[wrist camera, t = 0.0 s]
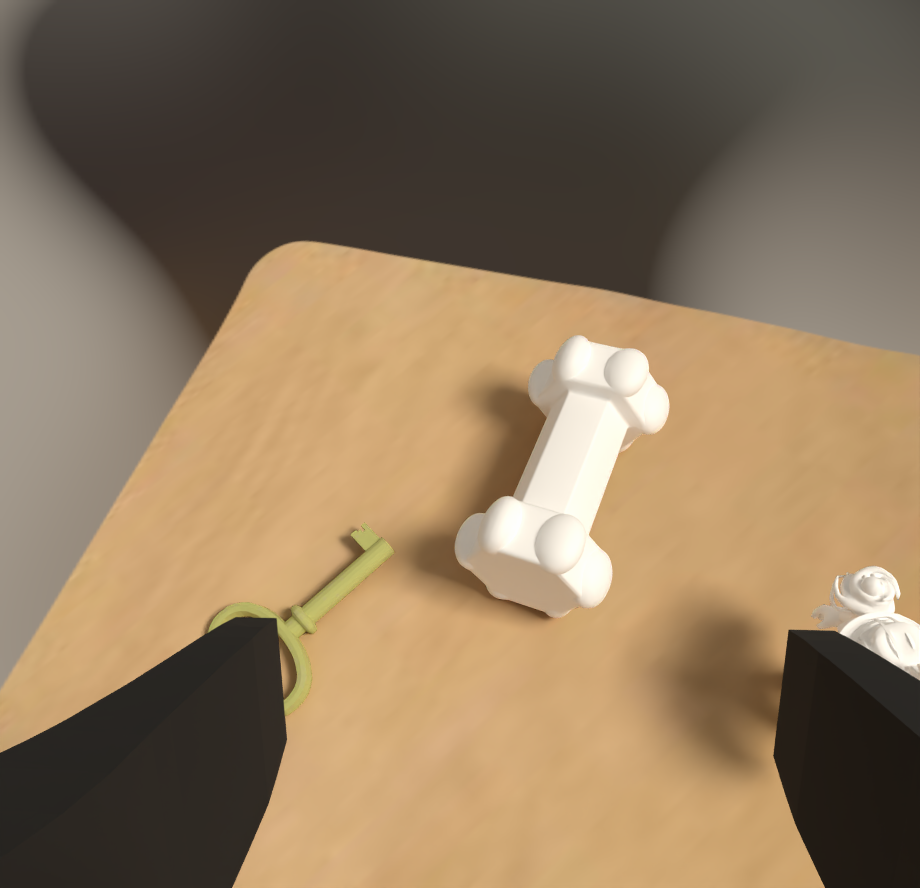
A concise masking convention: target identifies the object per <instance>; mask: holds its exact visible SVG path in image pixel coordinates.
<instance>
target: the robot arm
mask: <svg viewBox="0 0 920 888" xmlns="http://www.w3.org/2000/svg"><path fill="white" fill-rule="evenodd" d="M286 741H287V734H286V723H285V711H284V699H283V687H282V675H281V663H280V651H279V639H278V627H277V618H254V617H235V618H233V619H231V620H229V621H227V622H225V623H223V624H221V625H220V626H218V627H216V628H215V629H213V630H211V631H210V632H208V633H207V634H205V635H203V636H202V637H200V638H199V639H197V640H196V641H194V642H193V643H191V644H189V645H188V646H186V647H185V648H183V649H182V650H180V651H179V652H177V653H176V654H174V655H172V656H171V657H169V658H168V659H166V660H165V661H163V662H161V663H160V664H158V665H157V666H155V667H154V668H152V669H150V670H149V671H147V672H146V673H144V674H143V675H141V676H140V677H138V678H136V679H135V680H133V681H132V682H130V683H128V684H127V685H125V686H123V687H121V688H120V689H118V690H116V691H115V692H113V693H111V694H109V695H108V696H106V697H104V698H103V699H101V700H99V701H97V702H96V703H94V704H92V705H91V706H89V707H87V708H85V709H84V710H82V711H80V712H79V713H77V714H75V715H73V716H72V717H70V718H68V719H67V720H65V721H63V722H61V723H59V724H57V725H55V726H53V727H52V728H50V729H48V730H46V731H44V732H42V733H40V734H38V735H36V736H34V737H32V738H30V739H28V740H26V741H24V742H22V743H20V744H18V745H16V746H14V747H12V748H9V749H7V750H5V751H3V752H1V753H0V888H232V887H233V885H234V882H235V880H236V878H237V875H238V873H239V871H240V869H241V866H242V864H243V862H244V860H245V857H246V855H247V853H248V851H249V848H250V846H251V844H252V841H253V839H254V837H255V834H256V832H257V830H258V827H259V825H260V823H261V820H262V818H263V816H264V813H265V811H266V809H267V806H268V804H269V800H270V797H271V794H272V791H273V787H274V784H275V781H276V777H277V774H278V770H279V767H280V763H281V759H282V756H283V752H284V749H285V745H286ZM773 756H774V759H775V763H776V766H777V769H778V772H779V776H780V779H781V782H782V785H783V789H784V792H785V795H786V798H787V801H788V804H789V807H790V810H791V813H792V816H793V818H794V821H795V824H796V826H797V829H798V831H799V833H800V835H801V837H802V840H803V842H804V844H805V846H806V848H807V850H808V852H809V855H810V857H811V859H812V861H813V863H814V865H815V867H816V870H817V872H818V874H819V876H820V878H821V880H822V882H823V884H824V886H825V888H920V680H918V679H917V678H915V677H913V676H912V675H910V674H909V673H907V672H905V671H904V670H902V669H900V668H899V667H897V666H896V665H894V664H892V663H891V662H889V661H887V660H886V659H884V658H882V657H881V656H879V655H877V654H876V653H874V652H872V651H871V650H869V649H867V648H866V647H864V646H862V645H861V644H859V643H857V642H855V641H853V640H852V639H850V638H848V637H846V636H844V635H842V634H840V633H838V632H836V631H820V630H789V632H788V640H787V648H786V656H785V664H784V673H783V681H782V689H781V697H780V706H779V714H778V722H777V730H776V738H775V747H774V755H773Z"/></svg>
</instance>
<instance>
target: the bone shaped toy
mask: <svg viewBox="0 0 920 888" xmlns="http://www.w3.org/2000/svg"><path fill="white" fill-rule="evenodd" d="M648 371H649V365H648V361H647V358H646V356H645V355H644V354H643V353H642V352H640V351H639V350H636V349H632V348H626V349H621V348H616V347H612V346H607V345H602V344H598V343H593V342H589V341H588V340H587V339H586V338H585V337H584V336H580V335H577V336H573V337H571V338H569V339H568V340H566V341H565V342H564V343H563V344H562V346H561V347H560V348H559V350H558V352H557V354H556V356H555V358H554V360H551V359H548V360H544V361H542V362H540V363H539V364H538V365H537V366H536V367H535V368H534V370H533V371H532V373H531V375H530V378H529V382H528V393H529V397H530V399H531V401H532V402H533V403H534V404H535V405H536V406H537V407H538V408H539V409H540V410H541V411H542V413H543V414H544V415H545V416H546V417H547V419H546V421H545V424H544V426H543V428H542V430H541V433H540V435H539V437H538V440H537V442H536V444H535V447H534V449H533V451H532V454H531V456H530V458H529V460H528V463H527V465H526V467H525V470H524V472H523V474H522V477H521V479H520V481H519V484H518V486H517V488H516V490H515V493H514V495H513V497H511V496H504V497H501V498H499V499H497V500H496V501H495V502H494V503H493V504H492V505H491V506H490V507H489V508H488V510H487V511H486V513H476V514H473V515H471V516H470V517H468V518H467V519H466V520H465V521H464V523H463V524H462V526H461V527H460V529H459V531H458V534H457V537H456V540H455V555H456V558H457V560H458V562H459V563H460V565H461V566H463V567H464V568H465V569H468V570H470V571H471V572H472V573H473V574H474V575H475V576H476V577H478V578H479V579H480V580H481V581H482V582H483V583H484V584H485V585H486V587H487V590H488V591H489V593H490V594H491V595H492V596H494V597H496V598H498V599H503V600H510V601H513V602H516V603H519V604H522V605H525V606H528V607H531V608H534V609H537V610H540V611H543V612H545V613H546V614H547V615H548V616H550V617H552V618H560V617H563V616H565V615H566V614H567V613H569V612H570V611H571V610H573V609H575V608H578V607H582V608H588V609H589V608H593V607H595V606H597V605H598V604H600V603H601V602H602V601H603V599H604V598H605V596H606V594H607V592H608V590H609V588H610V584H611V580H612V565H611V561H610V559H609V557H608V555H607V554H606V553H605V552H604V551H603V550H601V549H600V548H599V546H598V545H597V544H596V543H595V542H594V541H593V540H592V539H591V537H590V536H589V532H590V529H591V527H592V524H593V521H594V518H595V516H596V513H597V510H598V508H599V505H600V502H601V499H602V497H603V494H604V491H605V488H606V486H607V483H608V480H609V478H610V475H611V472H612V469H613V467H614V464H615V461H616V458H617V456H618V453H620V452H622V451H624V450H626V449H627V448H628V447H629V446H630V445H631V444H632V442H633V441H634V440H635V439H636V438H638V437H639V436H641V435H642V434H646V435H651V434H654V433H656V432H658V431H659V430H660V429H661V428H662V427H663V425H664V424H665V422H666V419H667V416H668V413H669V399H668V396H667V393H666V391H665V390H664V389H663V388H662V387H661V386H660V385H658V384H657V383H656V382H655V380H654V379H653V377H652V376H651V374H650V373H649V372H648Z"/></svg>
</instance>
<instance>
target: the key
mask: <svg viewBox="0 0 920 888" xmlns="http://www.w3.org/2000/svg"><path fill="white" fill-rule="evenodd" d="M361 526H362V528H363V529H364V530H365V531H364V532H362V531H361V530H359V531H358V532H357V531H356V530H355V531H354V532H353V533H352V534H351V536H352V538H353V539H354V540H355V541H356V542H357V543H358V544H359V545H360V546H361V547H362V548H363V549H364V550H365V552H364V553H363V554H362V555H361V556H360V557H359V558H357V559H356V560H355V561H354V562H353V563H352V564H351V565H349V566H348V567H347V568H346V569H345V570H344V571H343V572H341V573H340V574H339V575H338V576H337V577H336V578H335V579H333V580H332V581H331V582H330V583H329V584H328V585H327V586H325V587H324V588H323V589H322V590H321V591H320V592H319V593H317V594H316V595H315V596H314V597H313V598H312V599H311V600H309V601H308V602H307V603H306V604H305V605H304V606H303V607H300V606H298V605H294V606H292V608H291V613H292V616H291V617H290V618H289V619H288V620H287V621H284V620H283V619H282V618H281V617H279V616H278V615H277V614H276V613H275V612H273V611H271V610H270V609H268V608H266V607H263V606H259V605H256V604H253V603H249V602H241V603H236V604H233V605H230V606H228V607H226V608H225V609H224V610H222V611H221V612H220V613H219V614H218V615H217V616H216V617H215V618H214V619H213V621H212V623H211V625H210V627H209V631H208V632H210V631H211V630H213V629H215V628H216V627H218V626H220V625H221V624H223V623H225V622H227V621H229V620H231V619H233V618H235V617H245V616H250V617H254V618H277V627H278V635H279V637H280V638H281V639H282V640H283V641H284V643H285V644H286V646H287V647H288V649H289V651H290V652H291V654H292V656H293V659H294V661H295V666H296V672H297V680H296V684H295V687H294V689H293V691H292V692H291V694H290V695H289V696H288V697H287V698H286V699H285V700H284V711H285V716H287V715H289V714H291V713H292V712H293V711H295V710H296V709H297V708H298V707H299V706H300V705H301V704H302V703H303V702H304V700H305V699H306V697H307V695H308V693H309V691H310V688H311V683H312V672H311V664H310V661H309V658H308V655H307V653H306V650H305V648H304V646H303V645H302V643H301V641H300V640H299V637H300V636H301V635H302V634H304V633H305V632H306V631H307V632H308V633H311V634H313V633H315V632H316V631H317V627H316V624H315V623H316V622H317V621H318V620H319V619H321V618H322V617H323V616H324V615H325V614H326V613H327V612H328V611H330V610H331V609H332V608H333V607H334V606H335V605H336V604H337V603H339V602H340V601H341V600H342V599H343V598H344V597H345V596H346V595H348V594H349V593H350V592H351V591H352V590H353V589H354V588H356V587H357V586H358V585H359V584H360V583H361V582H362V581H363V580H365V579H366V578H367V577H368V576H369V575H370V574H371V573H372V572H374V571H375V570H376V569H377V568H378V567H379V566H380V565H381V564H383V563H384V562H385V561H386V560H387V559H388V558H389V557H390V556H392V555H393V554H394V553H395V552H394V550H393V549H392V548H391V546H390V545H389V544H388V543H387V542H386V541H385V540H384V539H383V538H382V537H381V538H379V537H378V536H377V535H376V534H375V533H374V532H373V531H372V530H371V529H370V528H369V526H368V525H367V524H366V523H363V524H362V525H361Z"/></svg>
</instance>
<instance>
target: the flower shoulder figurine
mask: <svg viewBox="0 0 920 888" xmlns="http://www.w3.org/2000/svg"><path fill="white" fill-rule="evenodd" d="M846 575H847V576H846ZM846 575H840V576H839V575H838V576H836V579H835V581H834V583H833V585H832V588H831V591H830V598H829V599H830V604H831V606H828V605H825V604H823V605H821V606H819V607H817V608H815V609H814V610H813V612H812V615H811V617H813V618H818V619H819V620H823V621H822V622H820V623H819V624H817V627H818V628H819V629H825V628H830V627H837V629H838V632H839V633H840V634H842V635H844V636H846V637H848V638H850V639H852V640H853V641H855V642H857V643H859V644H861V645H862V646H864V647H866V648H867V649H869V650H871V651H872V652H874V653H876V654H877V655H879V656H881V657H882V658H884V659H886V660H887V661H889V662H891V663H892V664H894V665H896V666H897V667H899V668H900V669H902V670H904V671H905V672H907V673H909V674H910V675H912V676H913V677H915V678H917V679H918V680H920V625H919V624H917V623H916V622H914V621H913V620H910V619H908V618H906V617H904V616H902V615H899V614H895V613H894V611H895V606H894V600H893V598H894V596H895V594H896V597H897V599H898V600H899V597H900V590H899V586H898V584H897V581H896V579H895V578H894V577H893V576H892V574H891V573H889V572H887V571H886V570H884V569H883V568H881V567H878V566H868V567H865V568H863V569H861V570H859V571H857V572H855V574H850V573H848V572H847V573H846ZM840 577H844V578H843V580H842V582H841V584H840V591H841V594H840V593H839V590H838V578H840ZM834 594H835V597H836V599H837V600H838V602H839V603H840V604H841V605H842V606H843V607H837V606H836V604H835V601H834V597H833V596H834ZM844 607H845V608H844Z"/></svg>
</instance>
